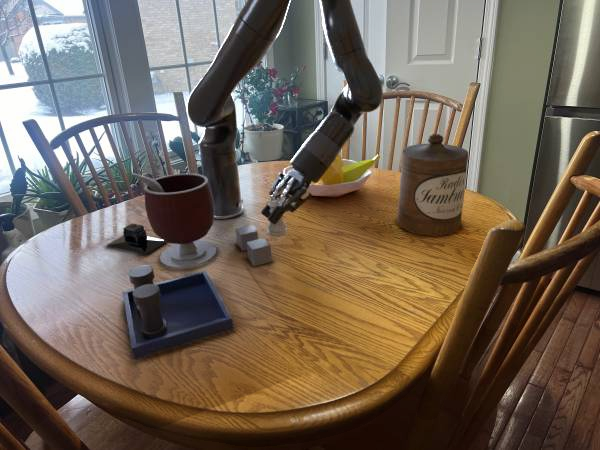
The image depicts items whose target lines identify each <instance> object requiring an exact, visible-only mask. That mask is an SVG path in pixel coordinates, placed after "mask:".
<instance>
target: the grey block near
mask: <svg viewBox="0 0 600 450" xmlns="http://www.w3.org/2000/svg"><path fill="white" fill-rule="evenodd" d="M246 243H247V250H246V251H247V259H248V261H249V262H250V263H251V264H252V266H253V267H258V266H262V265H264V264H270V263H272V261H273V259H272V250H271V249H272V247H271V244H270V243H269V242H268V241H267V239H265V238H264V237H263V238H258V240H254V241H250V242H246Z"/></svg>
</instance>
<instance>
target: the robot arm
mask: <svg viewBox="0 0 600 450" xmlns="http://www.w3.org/2000/svg"><path fill="white" fill-rule="evenodd" d="M291 1H292V0H246V2H245V3H244V5H243V7H242V9H241V10H240V12H239V13H238V14H237V16H236V18H235V20H234V22H233V24H232V26H231V27H230V29H229V31H228V34H227V35H226V37H225V39H224V41H223V43H222V44H221V46H220V48H219V49H218V52H217V53H216V55H215V57H214V59H213V61H212V62H211V65H210V66H209V68H208V69H207V71H206V72H205V74H204V75H203V76H202V77H201V79H200V80H199V82H198V83H197V85H196V86H195V87H194V88H193V90H192V91H191V92H190V95H189V96H188V99H187V103H186V112H187V116H188V118H189V120H190V121H191V123H193V124H194V125H195V126H197V127H200V128H204V131H203V134H202V136H201V138H200V140H199V141H198V150H199V157H200V164H201V171H202V172H201V173H202V175H203V176H205V177H207V178H208V183H209V185H210V188H211V192H212V195H213V201H214V219H217V220H225V219H226V220H227V219H231V218H234V217H235V218H236V217H238V216H239V215H241V214H242V213H243V211H244V209H243V204H244V199H243V198H242V194H241V186H240V185H241V183H240V175H239V165H238V158H237V148H236V143H237V140H238V139H237V138H238V124H237V123H238V122H237V108H236V103H235V99H234V96H233V94H232V93H233V92H234V90H235V88H236V87H237V86H238V85H239V83H240V82H241V81H242V80H243V79H245V77H247V76H248V75H249V74H250V73H251V72H252V71H253V70H254V69H255V68H256V67H257V66H258V65H259V64H260V63H261V61H262V60H264V58H265V57H266V55H267V53H268V52H269V51H270V49H271V47H273V45H274V43H275V41H276V40H277V39H278V36H279V35H280V33H281V30H282V28H283V25H284V23H285V20H286V16H287V13H288V10H289V6H290V3H291ZM352 4H353V3H352V2H351V0H319V5H320V10H321V19H322V27H323V31H324V35H325V39H326V42H327V45H328V49H329V52H330V56H331V58H332V62H333V64H334V66H335V69H336V70H337V71H338V72H340V73H341V74H342V75H343V77H344V80H345V82H346V86H345V87H344V88H343V89H342V91H340V93H339V95H338V97H337V98H336V100H335V101H334V103H333V105H332V107H331V109H330V110H329V113H328V114H327V115H326V116H325V117H324V119H323V120H322V121H321V122H320V123H319V125H318V126H317V128H316V129H315V130H314V131H313V132H312V133H311V134H310V135H309V137H307V139H306V140H305V141H304V143H303V144H302V145H301V146H300V148H299V149H298V150H297V152H296V153H295V155H293V158H291V160H290V161H289V164H290V166H293V168H292V169H291V170H290V171H289V172H288V173H287V174H283V173H284V172H281V171H280V172H278V174H277V176H276V178H275V180H274V182H273V184H272V186H271V187H270V190H269V191H268V195H270V197H269V200H270V199H272V200H273V198H275V200H277V198H279V199H281V201H280V202H279V204H278V206H276V208H275V209H274V210H273V211H272V213H271V212H270V207H269V205H268V203H269V201H268V202H267V204H266V205H265V206H264V207H263V208H262V210H261V212H260V213H261V215H263V217H264V218H267V220H268V222H271V223H273V224H276V223H277V222H278V221H279V220H280V218H281V217H282V218H283V216H284V215H285V213H288V212H290V213H294V212H295V211H296V210H298V209H299V208H300V207H301V206H302V205H303V204H305V203H306V202H307V201H308V200H310V199H311V197H312V196H313V195H312V194H311V193H309V192H308V188H309V186H310V183H311V182H313V183H317V182H318V181H319V180H320V178H321V177H322V176H323V175H324V173H325V172H326V171H327V169H328V168H329V167H330V165H331V164H332V163H333V162H334V160H335V159H336V157H337V156H338V155H339V154H340V152H341V151H342V149H343V148H344V147H345V146H346V144H347V143H348V142H349V141H350V139H351V138H352V137H353V134H354V132H355V125H356V124H357V122H358V121H359V119H360V118H361V117H362V115H363V114H367V113H372V112H374V111H376V110H377V109H379V108H380V106H381V104H382V103H383V99H384V98H383V97H384V91H383V90H384V89H383V86H382V82H381V80H380V77H379V75H378V73H377V71H376V69H375V67H374V65H373V64H372V61H371V60H370V59H369V56H368V55H367V51H366V48H365V44H364V40H363V38H362V34H361V33H362V32H361V31H360V28H359V27H360V26H359V24H358V20H357V18H356V14H355V12H354V8H353V5H352Z"/></svg>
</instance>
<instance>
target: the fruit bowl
mask: <svg viewBox="0 0 600 450" xmlns="http://www.w3.org/2000/svg"><path fill="white" fill-rule="evenodd" d="M380 158H381V156H380V155H379V154H377V155H376V156H375V157H373V158H369V159H365V160H361V161H355V160H351V159H343V158H342V156H341V155H339V154H338V156H337V157H336V159H335V160H334V162H333V163H332V164H331V165H330V167H329V168H328V169H327V171H326V172H325V173H324V175H323V176H322V177H321V178H320V180H319V181H318V182H317V183H313V182H311V183H310V186H309V188H308V192H309V193H311V194H312V196H315V197H330V198H331V197H332V198H337V197H341V196H344V195H347V194H349V193H352V192H354V191H358V190H361V189H362V188H363V186H364V185H365V183H366V182H367V181H368V179H369V178H370V177H371V175H372V174H373V171H371V169H372V168H373V167H374V166H375V165H376V162H377V161H378V160H379V159H380ZM292 168H293V166H292V165H290V166H287V167H285V168H283V172H282V173H283V174H287V173H288V172H289V171H290V170H291V169H292Z"/></svg>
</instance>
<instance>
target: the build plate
mask: <svg viewBox="0 0 600 450" xmlns="http://www.w3.org/2000/svg"><path fill="white" fill-rule="evenodd" d="M122 233H123V235H122V236H120V237H118V238H117V239H115V240H113V241H111V242H109V243H108V244H106V247H107V248H112V249H116V250H122V251H126V252H130V253H136V254H138V255H141V256H142V255H143V256H147V255H150V254H151V253H153V252H154V251H156V250H157V249H158V248H160V247H162V246H163V245H165V244H167V242H165V241H164V240H162V239H161V238H156V237H151V236H147V232H146V229H145V226H144V225H143V224H137V223H130V224H128V225H126V226H124V227H123V231H122Z"/></svg>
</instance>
